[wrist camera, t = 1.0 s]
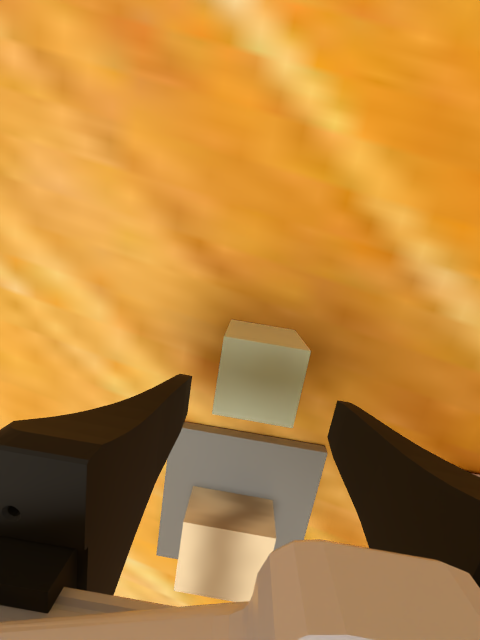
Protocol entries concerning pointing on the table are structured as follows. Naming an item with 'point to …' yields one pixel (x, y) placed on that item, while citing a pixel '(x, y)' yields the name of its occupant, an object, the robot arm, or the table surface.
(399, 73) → the table surface
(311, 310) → the table surface
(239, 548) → the birch plinth
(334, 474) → the table surface
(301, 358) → the sage block
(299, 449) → the gray board
